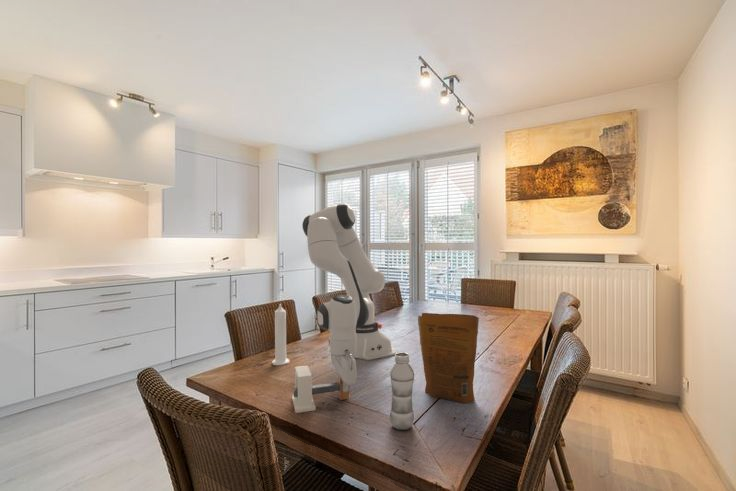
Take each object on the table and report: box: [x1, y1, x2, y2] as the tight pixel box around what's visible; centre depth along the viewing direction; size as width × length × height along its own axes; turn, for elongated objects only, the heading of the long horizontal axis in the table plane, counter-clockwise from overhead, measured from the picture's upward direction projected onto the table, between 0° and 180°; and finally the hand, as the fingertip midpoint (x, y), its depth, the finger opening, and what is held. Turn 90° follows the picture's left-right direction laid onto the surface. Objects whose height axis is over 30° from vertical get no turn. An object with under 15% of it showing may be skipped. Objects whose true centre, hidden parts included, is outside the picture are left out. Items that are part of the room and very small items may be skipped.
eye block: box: [291, 364, 317, 414], centre depth 109 cm, size 6×10×10 cm, turn 18°
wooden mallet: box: [292, 373, 350, 401], centre depth 111 cm, size 18×3×8 cm, turn 108°
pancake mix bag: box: [417, 312, 480, 404], centre depth 113 cm, size 7×19×28 cm, turn 63°
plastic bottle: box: [389, 352, 415, 431], centre depth 95 cm, size 6×7×20 cm
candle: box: [271, 303, 290, 366], centre depth 145 cm, size 7×7×25 cm
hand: (343, 387), depth 113 cm, fingers closed on wooden mallet, 3 cm apart
